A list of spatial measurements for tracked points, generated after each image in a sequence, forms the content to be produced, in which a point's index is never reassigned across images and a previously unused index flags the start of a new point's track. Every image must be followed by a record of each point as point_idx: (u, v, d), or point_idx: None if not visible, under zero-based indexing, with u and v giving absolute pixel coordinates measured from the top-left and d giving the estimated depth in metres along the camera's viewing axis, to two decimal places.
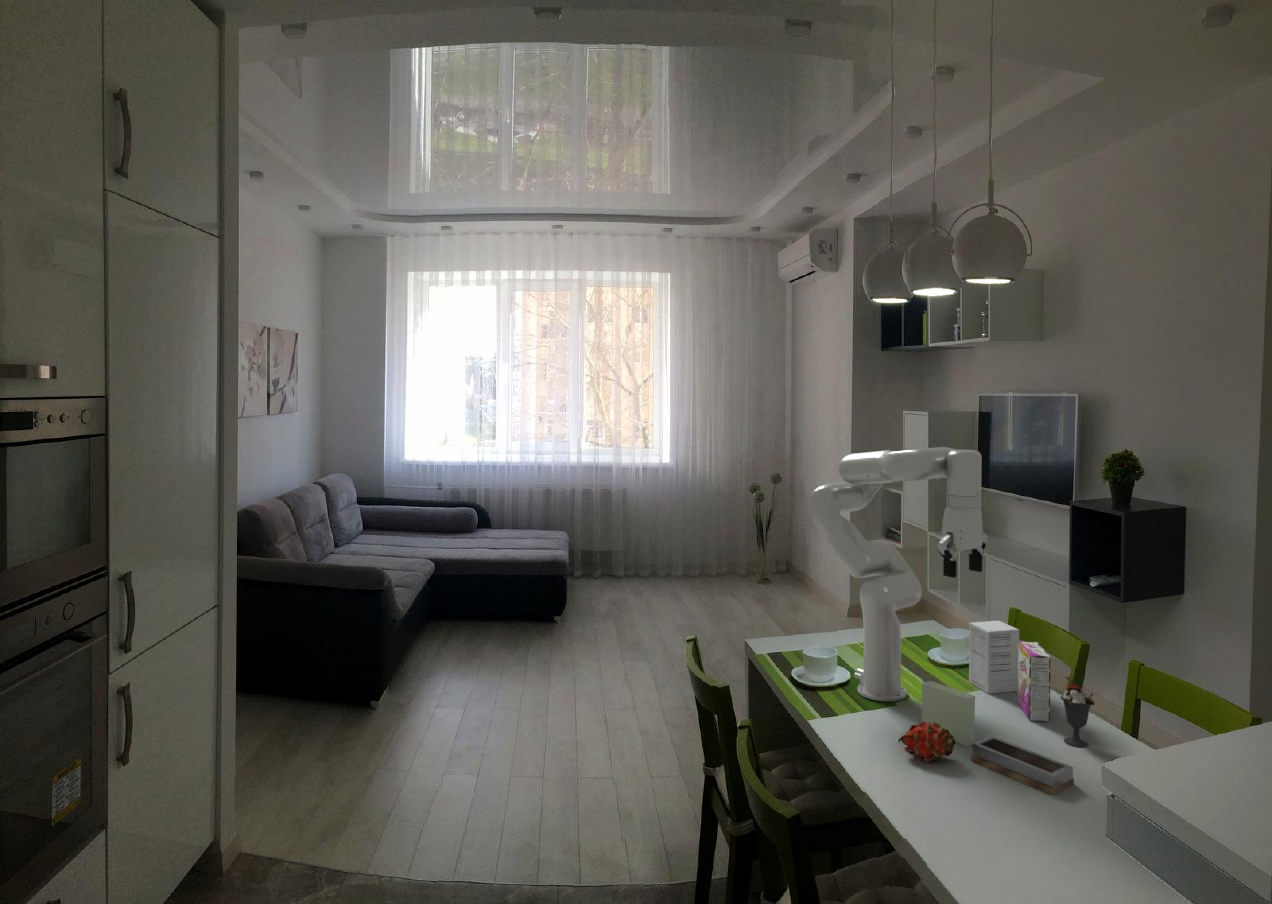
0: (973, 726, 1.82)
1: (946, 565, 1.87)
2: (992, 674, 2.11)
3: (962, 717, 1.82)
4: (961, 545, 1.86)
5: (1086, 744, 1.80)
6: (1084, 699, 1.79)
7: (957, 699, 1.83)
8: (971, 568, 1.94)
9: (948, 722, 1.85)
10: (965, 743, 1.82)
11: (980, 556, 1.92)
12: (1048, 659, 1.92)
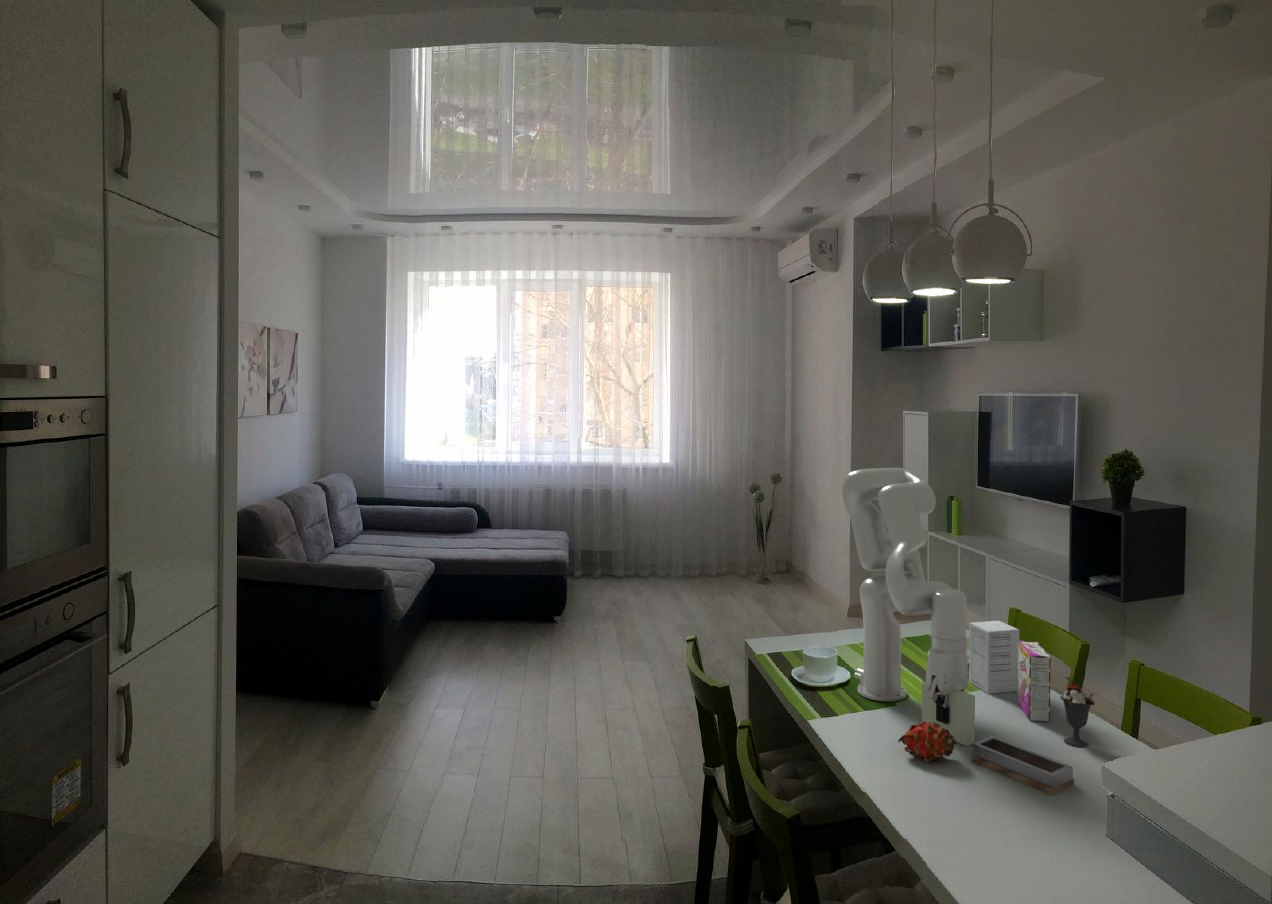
0: (973, 726, 1.82)
1: (939, 711, 1.86)
2: (992, 674, 2.11)
3: (962, 717, 1.82)
4: (946, 689, 1.83)
5: (1086, 744, 1.80)
6: (1084, 699, 1.79)
7: (957, 699, 1.83)
8: None
9: None
10: (965, 743, 1.82)
11: None
12: (1048, 659, 1.92)
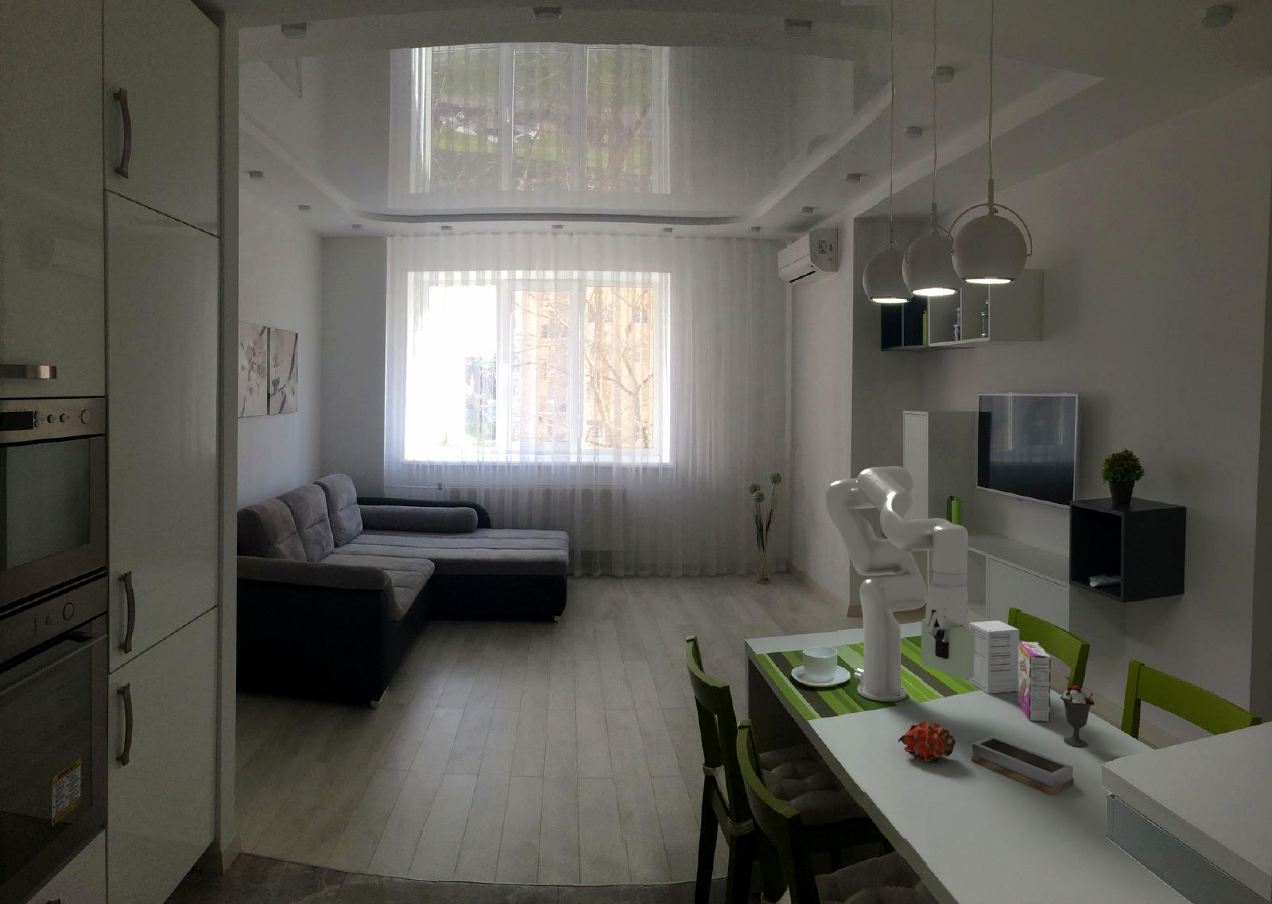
0: (972, 660, 1.82)
1: (938, 646, 1.85)
2: (992, 674, 2.11)
3: (962, 651, 1.81)
4: (945, 623, 1.82)
5: (1086, 744, 1.80)
6: (1084, 699, 1.79)
7: (956, 633, 1.82)
8: None
9: None
10: (964, 677, 1.81)
11: None
12: (1048, 659, 1.92)
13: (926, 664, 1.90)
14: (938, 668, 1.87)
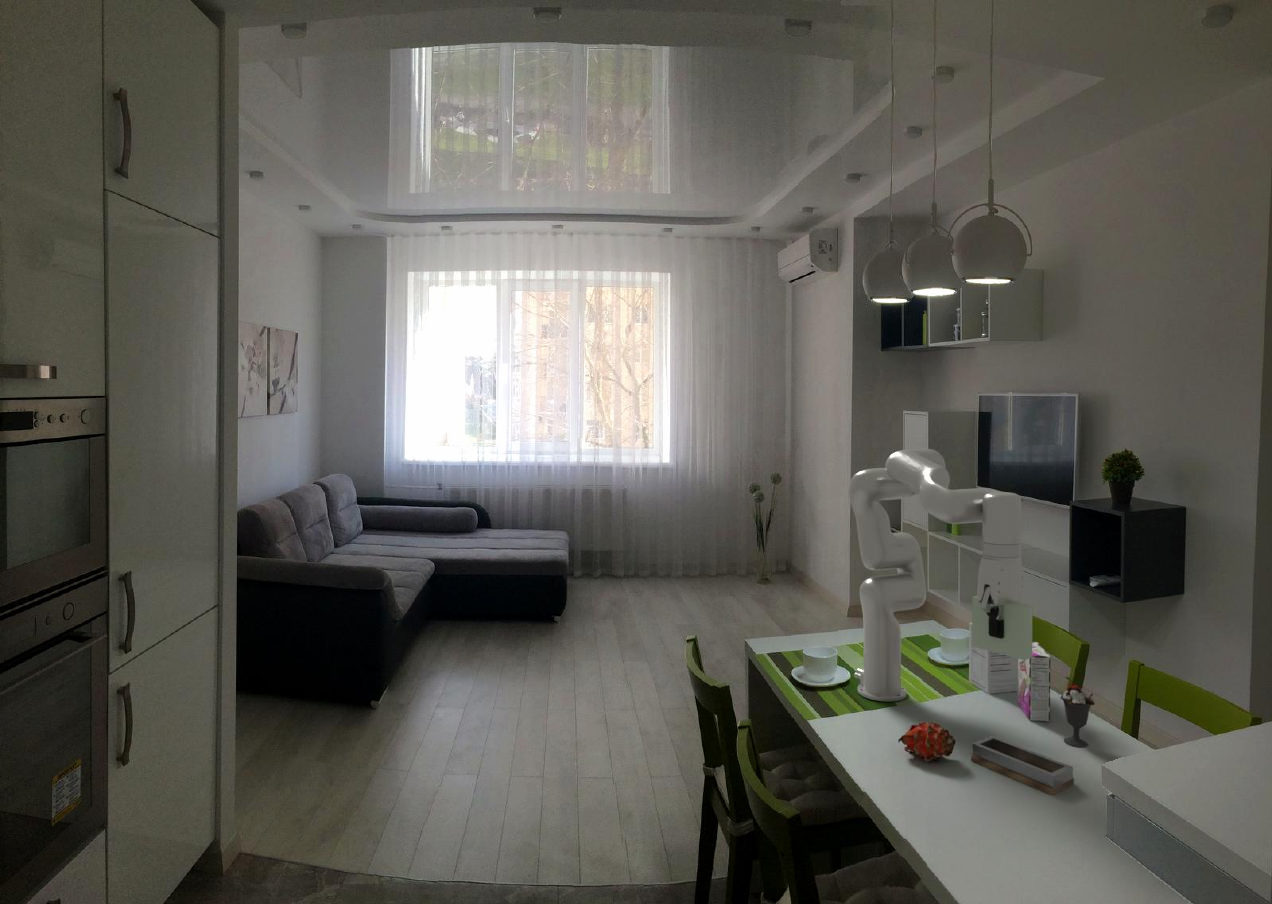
0: (1031, 639, 1.67)
1: (992, 624, 1.70)
2: (992, 674, 2.11)
3: (1019, 628, 1.67)
4: (1000, 599, 1.67)
5: (1086, 744, 1.80)
6: (1084, 699, 1.79)
7: (1012, 609, 1.68)
8: None
9: None
10: (1022, 657, 1.66)
11: None
12: (1048, 659, 1.92)
13: (978, 645, 1.75)
14: (992, 649, 1.72)
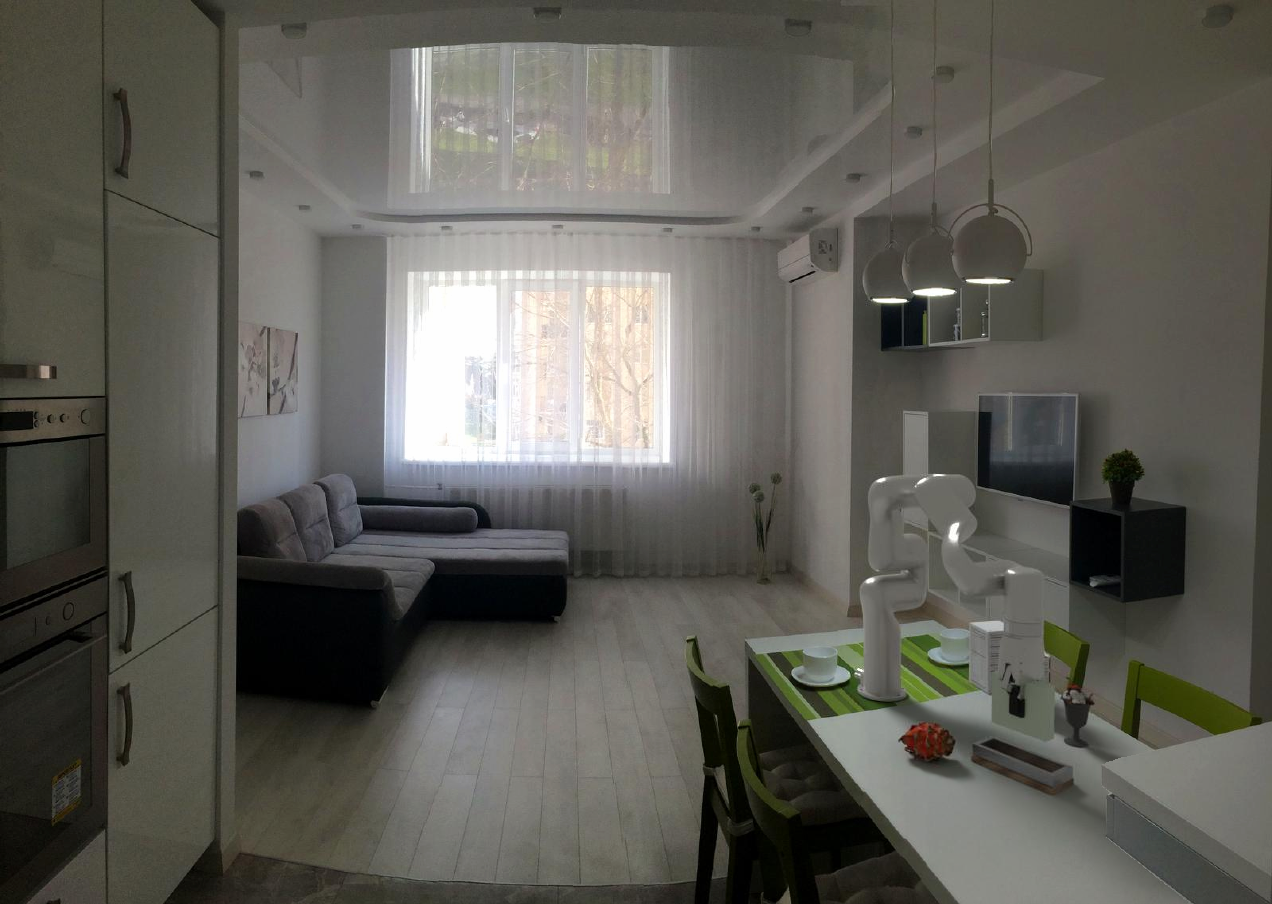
0: (1053, 719, 1.63)
1: (1013, 703, 1.66)
2: None
3: (1041, 709, 1.63)
4: (1022, 679, 1.64)
5: (1086, 744, 1.80)
6: (1084, 699, 1.79)
7: (1034, 689, 1.64)
8: None
9: None
10: (1044, 738, 1.62)
11: None
12: (1048, 659, 1.92)
13: (998, 722, 1.71)
14: (1012, 727, 1.68)
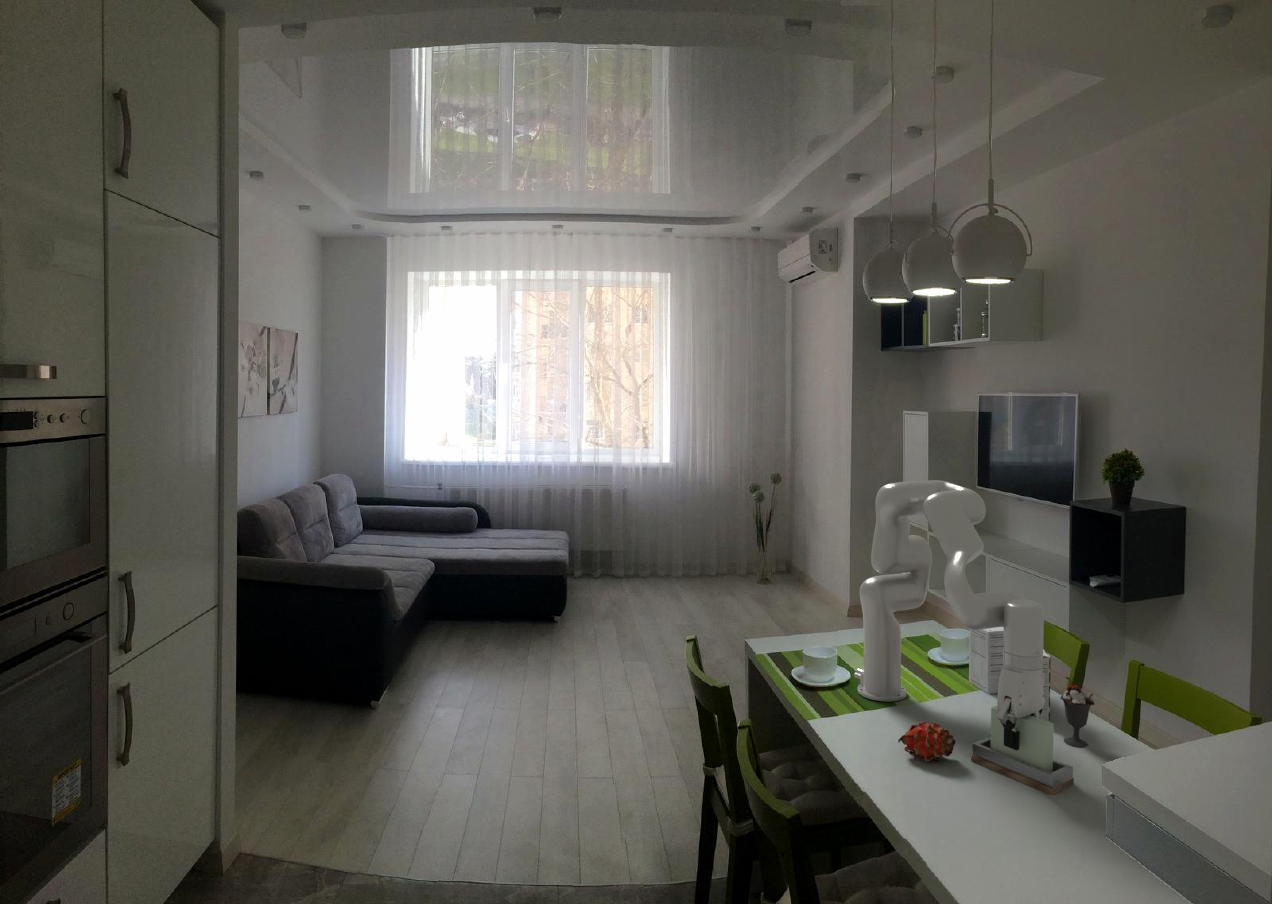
0: (1051, 757, 1.64)
1: (1007, 735, 1.66)
2: (992, 674, 2.11)
3: (1039, 747, 1.63)
4: (1021, 711, 1.64)
5: (1086, 744, 1.80)
6: (1084, 699, 1.79)
7: (1033, 727, 1.64)
8: None
9: (1022, 752, 1.67)
10: None
11: None
12: (1048, 659, 1.92)
13: None
14: None
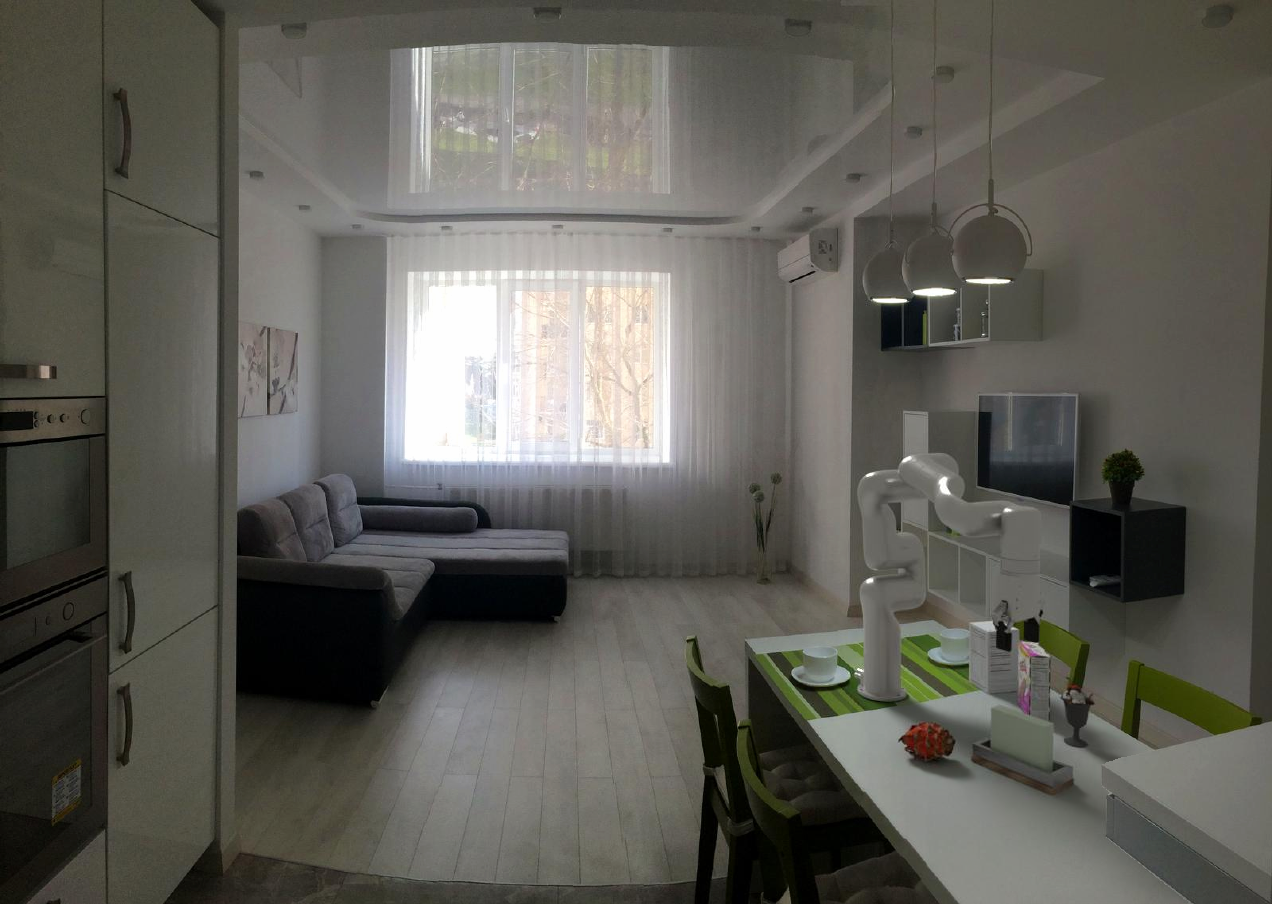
0: (1051, 757, 1.64)
1: (1000, 637, 1.66)
2: (992, 674, 2.11)
3: (1039, 747, 1.63)
4: (1017, 615, 1.65)
5: (1086, 744, 1.80)
6: (1084, 699, 1.79)
7: (1033, 727, 1.64)
8: (1026, 638, 1.72)
9: (1022, 752, 1.67)
10: None
11: (1037, 625, 1.70)
12: (1048, 659, 1.92)
13: None
14: None
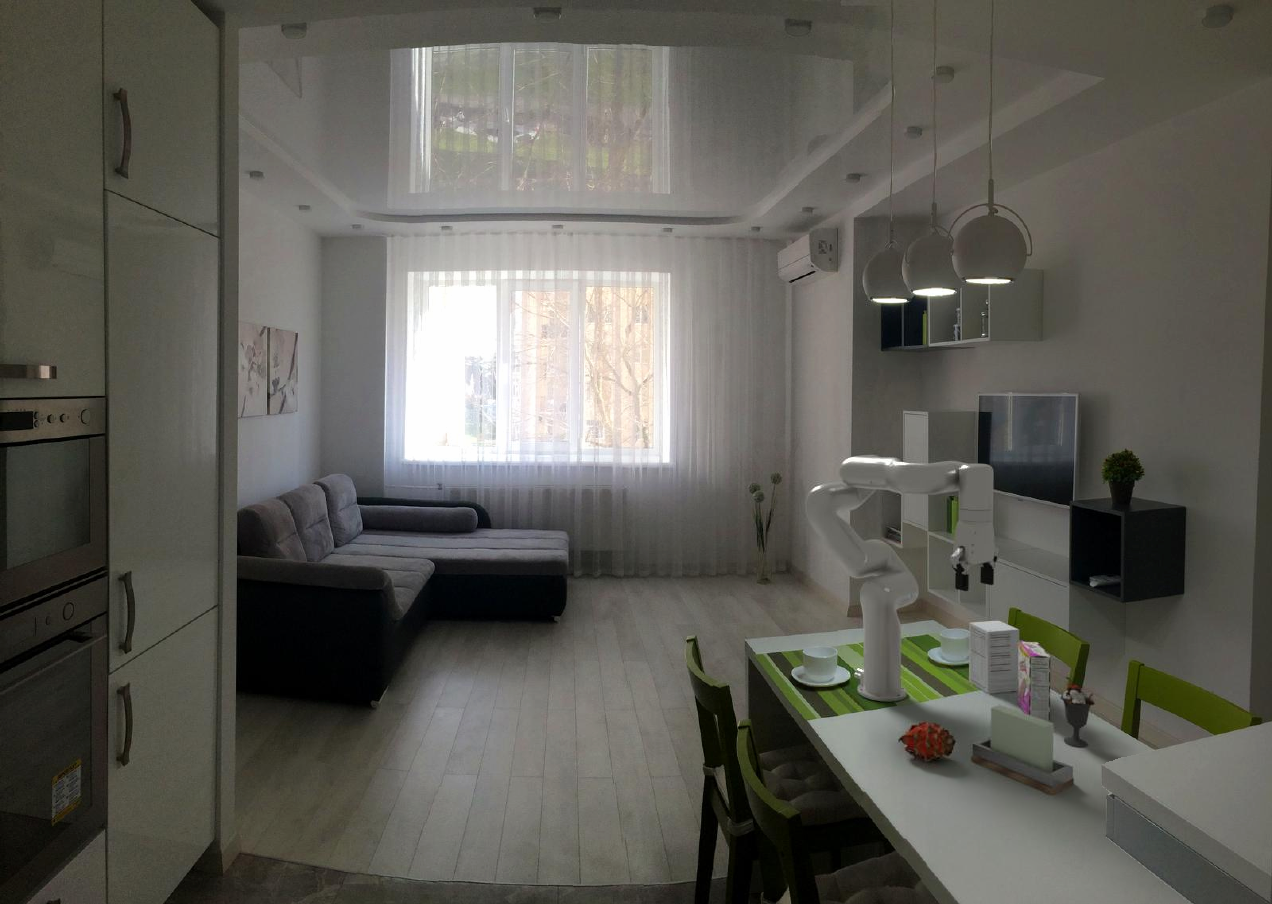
0: (1051, 757, 1.64)
1: (958, 579, 1.88)
2: (992, 674, 2.11)
3: (1039, 747, 1.63)
4: (973, 559, 1.87)
5: (1086, 744, 1.80)
6: (1084, 699, 1.79)
7: (1033, 727, 1.64)
8: (983, 581, 1.94)
9: (1022, 752, 1.67)
10: None
11: (992, 569, 1.93)
12: (1048, 659, 1.92)
13: None
14: None
